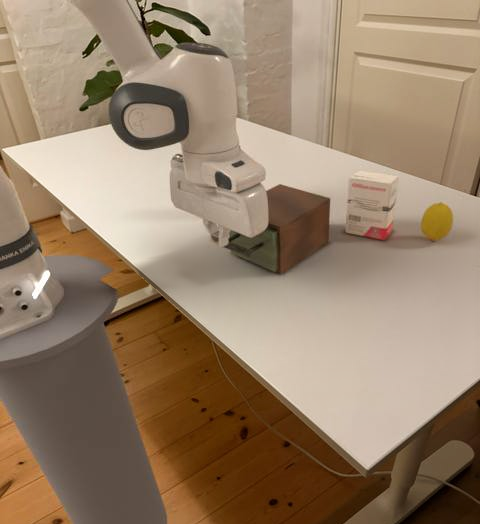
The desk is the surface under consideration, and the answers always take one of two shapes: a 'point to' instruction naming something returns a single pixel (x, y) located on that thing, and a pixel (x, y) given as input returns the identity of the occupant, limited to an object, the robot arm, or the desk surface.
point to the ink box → (371, 204)
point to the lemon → (437, 221)
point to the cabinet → (297, 223)
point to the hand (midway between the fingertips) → (219, 243)
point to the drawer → (256, 248)
